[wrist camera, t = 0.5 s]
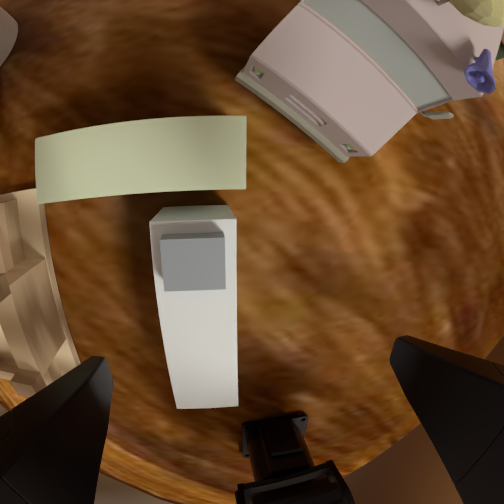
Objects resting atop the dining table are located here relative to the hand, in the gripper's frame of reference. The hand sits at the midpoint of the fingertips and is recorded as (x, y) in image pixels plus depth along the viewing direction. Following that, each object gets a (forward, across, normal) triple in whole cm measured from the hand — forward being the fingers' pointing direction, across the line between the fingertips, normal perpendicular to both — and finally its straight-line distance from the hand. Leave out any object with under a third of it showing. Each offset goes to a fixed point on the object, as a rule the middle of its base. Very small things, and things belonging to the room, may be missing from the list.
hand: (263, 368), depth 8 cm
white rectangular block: (+12, +2, +3) cm, 12 cm away
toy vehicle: (+11, -9, -17) cm, 22 cm away
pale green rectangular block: (+12, +5, -6) cm, 14 cm away
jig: (+11, +19, +3) cm, 22 cm away
